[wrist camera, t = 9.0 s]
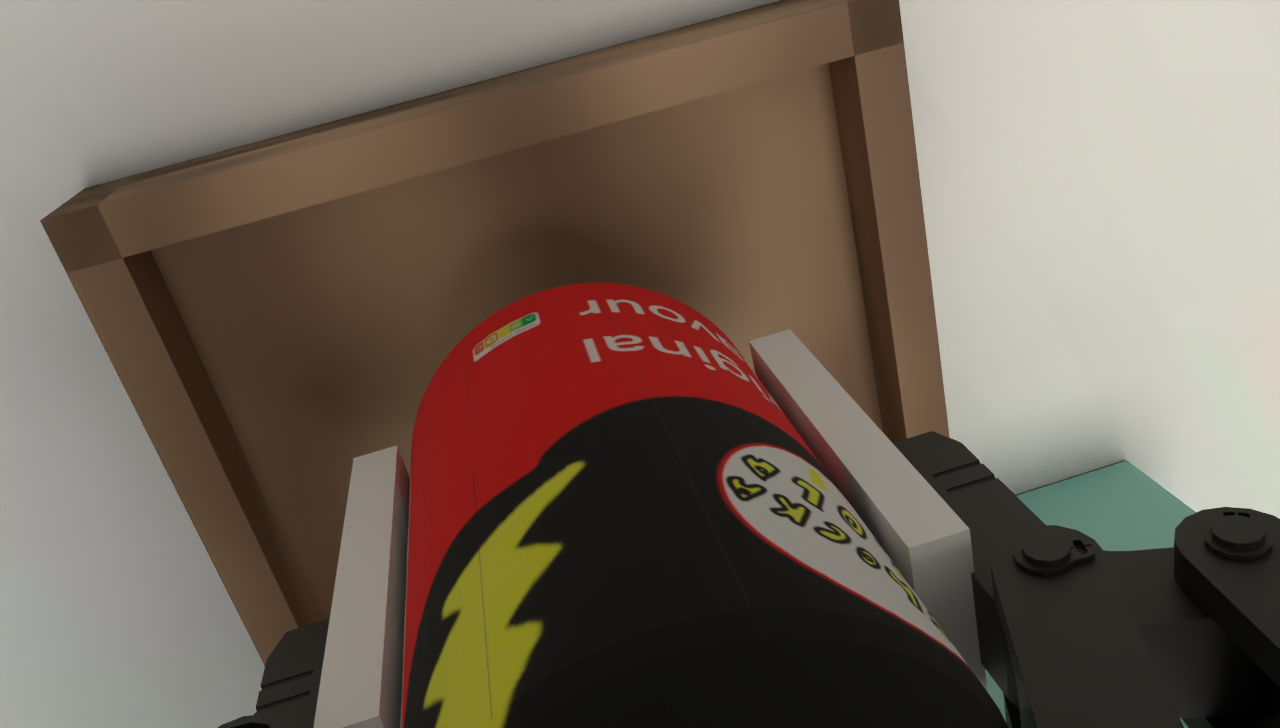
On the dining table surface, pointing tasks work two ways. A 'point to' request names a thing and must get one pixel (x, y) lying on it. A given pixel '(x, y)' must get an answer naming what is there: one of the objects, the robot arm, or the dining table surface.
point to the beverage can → (646, 542)
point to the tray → (503, 258)
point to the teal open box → (1107, 516)
